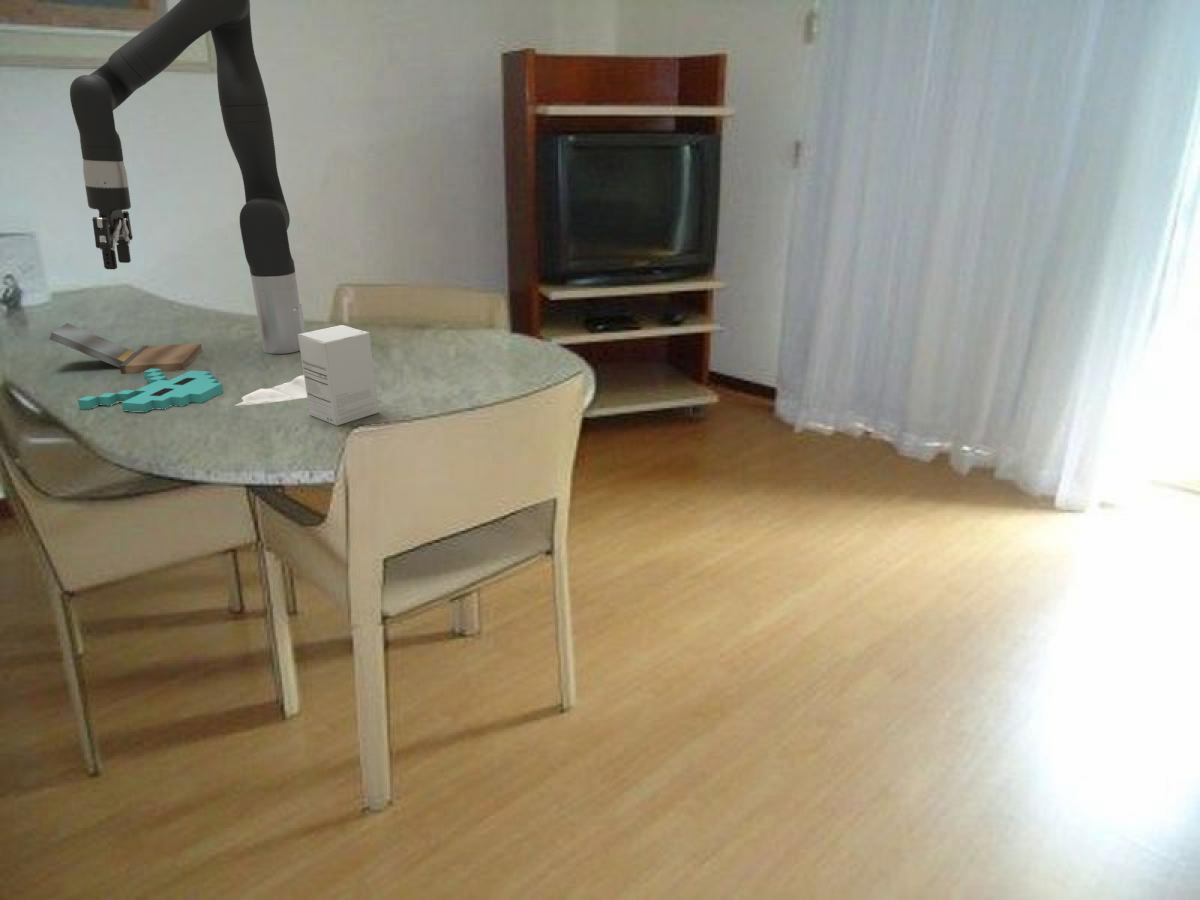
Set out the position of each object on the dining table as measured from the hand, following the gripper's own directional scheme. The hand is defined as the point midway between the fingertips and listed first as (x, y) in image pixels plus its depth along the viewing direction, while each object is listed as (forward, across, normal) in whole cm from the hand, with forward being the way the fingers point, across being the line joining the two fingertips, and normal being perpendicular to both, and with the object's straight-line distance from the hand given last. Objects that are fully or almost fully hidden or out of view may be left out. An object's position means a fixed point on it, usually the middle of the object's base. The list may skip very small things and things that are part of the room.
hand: (118, 265), depth 171 cm
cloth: (+19, -27, -37) cm, 50 cm away
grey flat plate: (+17, -2, +6) cm, 19 cm away
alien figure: (+20, -26, -14) cm, 36 cm away
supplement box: (+18, -44, -48) cm, 68 cm away
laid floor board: (+20, -2, -7) cm, 21 cm away
